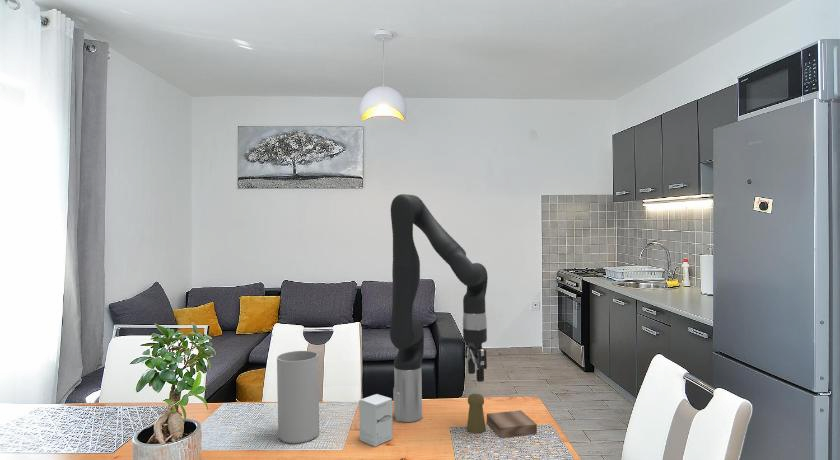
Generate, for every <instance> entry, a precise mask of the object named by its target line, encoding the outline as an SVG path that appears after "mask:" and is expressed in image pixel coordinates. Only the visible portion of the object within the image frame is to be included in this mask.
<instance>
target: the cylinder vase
mask: <svg viewBox="0 0 840 460" xmlns="http://www.w3.org/2000/svg"><path fill="white" fill-rule="evenodd" d="M276 374H277V376H276V378H277V379H276V380H277V381H276V382H277V384H276V385H277V388H276V389H277V436H278V439H279V440H280V441H281V442H283V443H288V444H301V443H306V442H310V441H312V440H314V439H316V438H317V436H319V434H320V389H319V388H320V387H319V386H320V385H319V384H320V382H319V354H318V352H315V351H313V350H312V351H311V350H294V351H288V352H283V353H281V354H279V355H277V356H276Z"/></svg>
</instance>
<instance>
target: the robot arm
mask: <svg viewBox="0 0 840 460" xmlns="http://www.w3.org/2000/svg"><path fill="white" fill-rule="evenodd" d="M390 218H391V230H392V274H391V275H392V301H391V302H392V305H391V307H392V308H391V318H390V325H389V326H390V327H389V338H390V341H391V344H392V345H393V346H394V347H395V348H396V349H397V350H398V352H397V353H396V356H395V357H394V359H393V366H394V367H393V369H394V370H393V371H394V373H393V374H394V376H393V378H394V387H393V389H392V390H393V391H392V393H393V398H392V402H393V417H394V419H395V421H396V422H402V423H413V422H414V423H415V422H418V421H419V420H421V419H423V396H422V395H423V394H422V393H423V392H422V389H423V387H422V385H423V384H422V383H423V382H422V379H423V377H422V361H423V359H424V350H425V349H424V347H425V346H424V345H425V332H424V327H423V325H422V323H421V321H420V320H419V319H417V318H414V317H413V307H414V302H415V300H416V299H415V298H416V296H417V292H418V289H419V286H420V279H421V261H420V257H419V253H418V250H417V247H416V244H415V240H414V232H413V231H414V225H415V226H416V228H418V229H420V230H421V232H422V233H423V234H424V235H425V236H426V238H427V239H428V241H429V243H430V245H431V247H432V248H433V250H434V251H435V252H436V253H437V254H438V255H439V257H440V258H442V260H443V261H444V262H445V263H446V264H447V265H448V266H449V267H450V269H451V270H452V272H453V274H454V275H455V276H456V278H457V279H458V281H459V282H460V283H462V284H463V285H464V286H466V292H465V294H464V296H463V299H462V304H463V305H462V309H463V310H462V311H463V312H462V313H463V314H462V315H463V316H462V341H463V342H464V357H465V359H466V362H467V372H468V374H469V375H473V374H475V373H476V375H475V378H476V381H477V382H478V383H482V382H484V381H485V370H486V369H487V368H488V363H487V349H486V348H483V343H486V342H487V341H488V336H487V335H488V334H487V333H488V331H487V330H488V329H487V327H488V325H487V314H486V312H487V311H486V293H487V290H488V288H487V286H488V277H489V276H488V271H487V268H486V267H485V265H483V264H482V263H478V262H475V263H473V262H472V261H471V260H470V259H469V257H467V252H466V250H465V249H464V248H463V247H462V246H461V245H460V244H459V243H458V242H457V241H456V240H455V238H453V237H452V236H451V235H450V234H449V233H448V231H446V230H445V229H444V228H443V226H442V225H441V224H440V223H439V222H438V221H437V219H436V218H435V217H434V215H433V214H432V212H431V211H430V210H429V208H428V207H427V206H426V204H425V202H424V201H423V200H422V199H421V198H420V197H419V196H417V195H413V194H406V193H404V194H398V195H396V196H395V197H394V198H393V199H392V201H391V204H390Z"/></svg>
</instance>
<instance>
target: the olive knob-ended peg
mask: <svg viewBox="0 0 840 460" xmlns="http://www.w3.org/2000/svg"><path fill="white" fill-rule="evenodd" d="M467 403H468V405H469V408H468V416H467V424H466V430H467V432H469V433H472V434H481V433H482V434H483V433H484V432H486V430H487V429H486V422H485V414H484V408H483V406H484V404H485V398H484V396H483V395H482V394H480V393H471V394H470V395H468V397H467Z"/></svg>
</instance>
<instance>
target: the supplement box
mask: <svg viewBox="0 0 840 460" xmlns="http://www.w3.org/2000/svg"><path fill="white" fill-rule="evenodd" d="M358 402H359V403H358V404H359V405H358V406H359V408H358V409H359V412H358V413H359V417H358V418H359V441H361V442H363V443H365V444H368V445H370V446H372V447H374V448H376V447H377V446H379V445H381V444H383V443H386V442H388V441H391V440H393V398H392V397H388V396H384V395H381V394H379V393H376V394H372V395H369V396H367V397H364V398H361V399H359V401H358Z"/></svg>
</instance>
